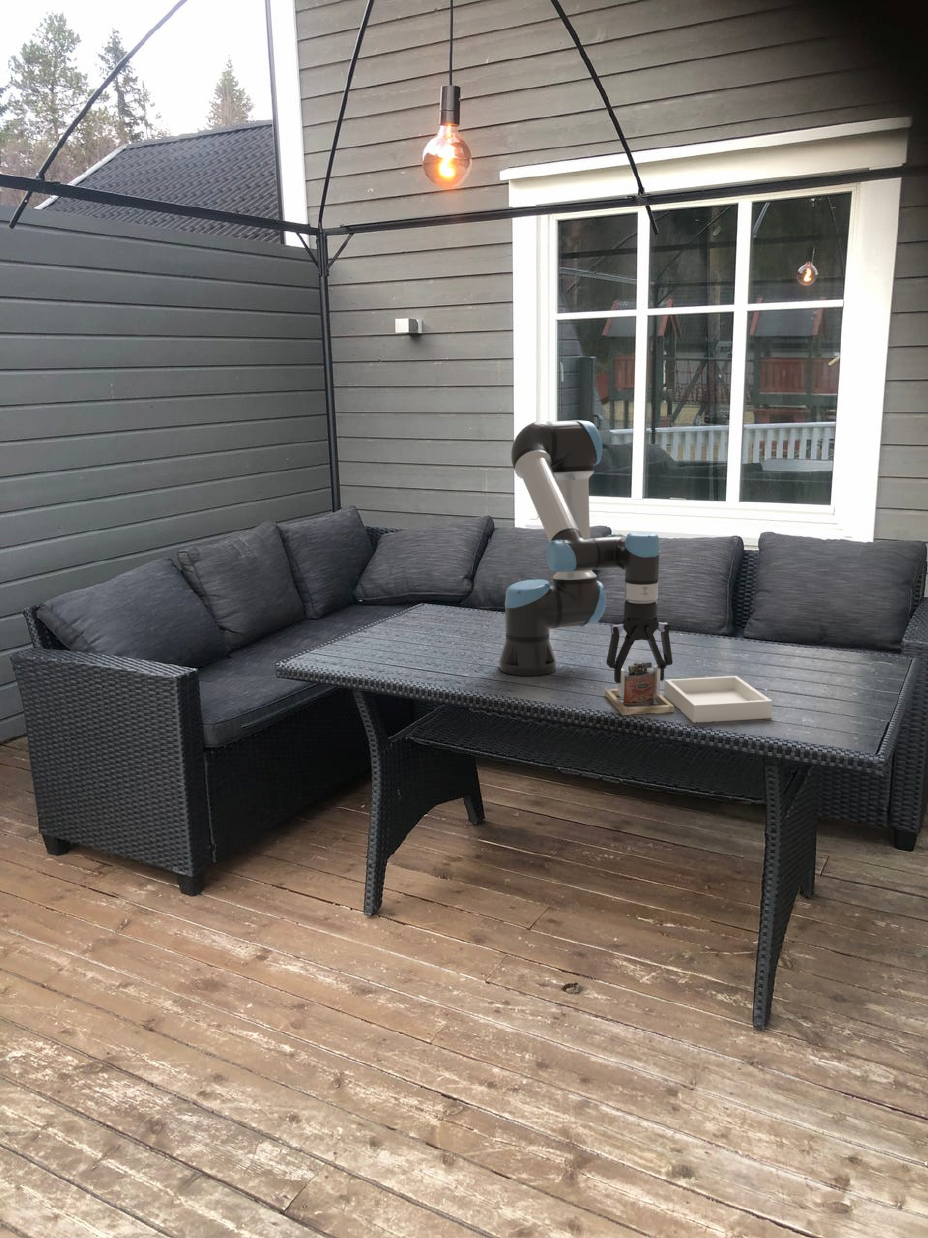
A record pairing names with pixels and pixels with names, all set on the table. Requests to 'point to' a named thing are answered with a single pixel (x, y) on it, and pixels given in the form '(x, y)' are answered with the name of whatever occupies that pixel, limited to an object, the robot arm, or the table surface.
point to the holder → (664, 707)
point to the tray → (717, 699)
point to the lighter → (639, 685)
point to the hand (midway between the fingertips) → (638, 694)
